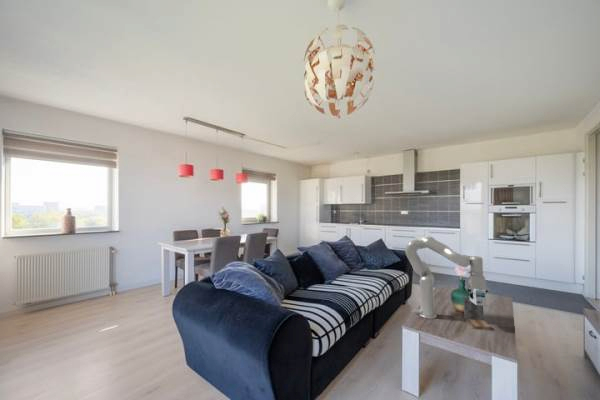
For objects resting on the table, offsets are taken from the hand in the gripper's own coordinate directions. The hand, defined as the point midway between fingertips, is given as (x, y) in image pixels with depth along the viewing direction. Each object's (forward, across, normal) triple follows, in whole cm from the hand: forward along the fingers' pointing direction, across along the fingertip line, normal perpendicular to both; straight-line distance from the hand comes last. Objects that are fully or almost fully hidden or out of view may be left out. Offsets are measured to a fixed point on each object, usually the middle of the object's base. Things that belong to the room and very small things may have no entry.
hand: (477, 298), depth 182 cm
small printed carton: (+19, 0, 0) cm, 19 cm away
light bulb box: (+4, 0, 0) cm, 4 cm away
